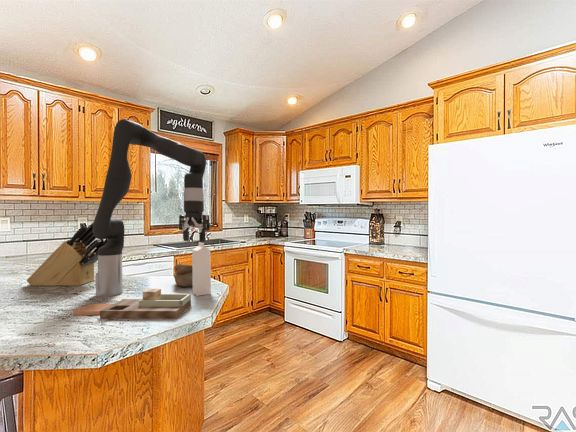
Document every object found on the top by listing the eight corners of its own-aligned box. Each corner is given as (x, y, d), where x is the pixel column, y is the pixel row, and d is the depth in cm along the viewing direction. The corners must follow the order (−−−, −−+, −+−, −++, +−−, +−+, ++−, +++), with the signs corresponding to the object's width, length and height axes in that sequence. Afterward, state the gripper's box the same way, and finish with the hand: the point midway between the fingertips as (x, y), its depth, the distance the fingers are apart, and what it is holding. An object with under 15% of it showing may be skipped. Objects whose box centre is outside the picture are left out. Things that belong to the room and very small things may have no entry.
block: (142, 304, 109) (142, 291, 109) (148, 300, 113) (148, 288, 113) (155, 304, 109) (155, 291, 109) (161, 300, 113) (160, 288, 113)
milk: (197, 296, 129) (196, 243, 129) (192, 293, 134) (191, 242, 134) (211, 293, 133) (210, 242, 132) (205, 290, 138) (205, 241, 137)
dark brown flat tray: (100, 318, 102) (99, 310, 102) (123, 305, 116) (123, 299, 116) (176, 318, 101) (176, 311, 101) (190, 305, 115) (190, 299, 115)
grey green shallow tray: (138, 306, 106) (138, 300, 106) (151, 299, 116) (151, 293, 116) (181, 306, 106) (181, 300, 106) (190, 299, 115) (190, 293, 115)
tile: (73, 314, 106) (73, 311, 106) (90, 306, 115) (90, 303, 115) (99, 314, 105) (99, 311, 105) (114, 306, 114) (114, 303, 114)
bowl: (160, 286, 146) (160, 265, 146) (184, 281, 158) (184, 261, 158) (187, 291, 137) (187, 268, 137) (210, 285, 149) (209, 264, 149)
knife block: (98, 286, 147) (98, 221, 147) (25, 286, 148) (25, 222, 147) (112, 281, 158) (111, 221, 158) (44, 281, 159) (44, 221, 159)
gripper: (173, 200, 121) (173, 241, 121) (200, 199, 114) (200, 243, 114) (188, 200, 128) (188, 240, 128) (214, 199, 121) (214, 241, 121)
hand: (194, 241), depth 121 cm, fingers open, 8 cm apart
